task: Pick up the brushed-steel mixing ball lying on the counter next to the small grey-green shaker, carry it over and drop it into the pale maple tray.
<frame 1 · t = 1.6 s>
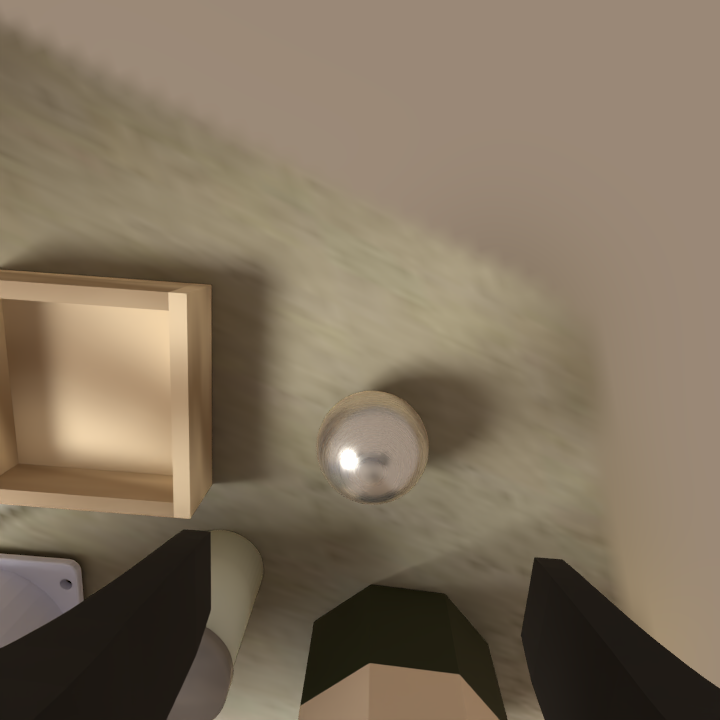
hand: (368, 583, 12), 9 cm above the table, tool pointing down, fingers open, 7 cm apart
tray: (108, 381, 21), on the table
shaker: (222, 566, 23), on the table
ball: (372, 446, 19), point 2 cm above the table
wine bottle: (395, 658, 24), on the table
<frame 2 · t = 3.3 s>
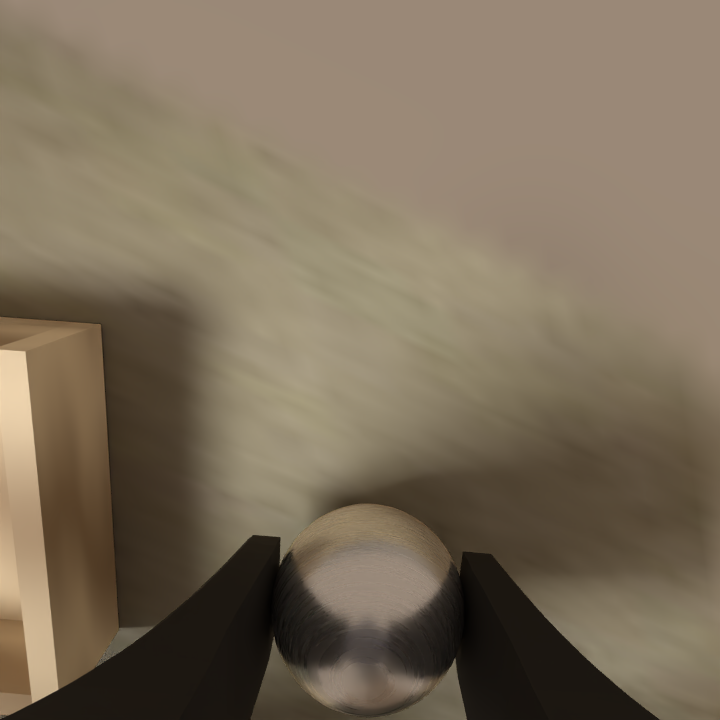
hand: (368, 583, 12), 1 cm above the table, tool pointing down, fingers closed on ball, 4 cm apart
ball: (367, 602, 11), point 2 cm above the table, touching gripper
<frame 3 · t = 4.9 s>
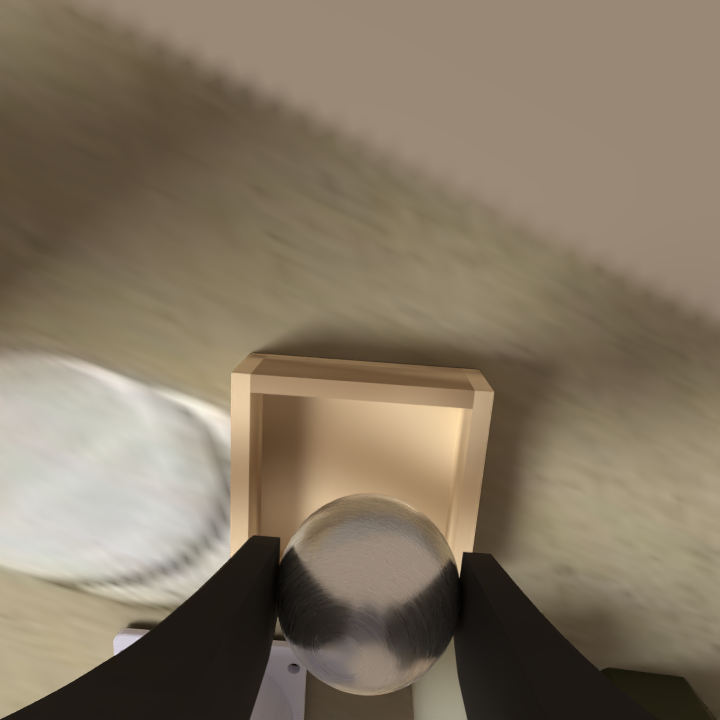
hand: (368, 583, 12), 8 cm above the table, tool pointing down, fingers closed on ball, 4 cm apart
tray: (357, 465, 20), on the table
shaker: (452, 649, 22), on the table
ball: (368, 587, 12), point 8 cm above the table, tilted 13°, touching gripper
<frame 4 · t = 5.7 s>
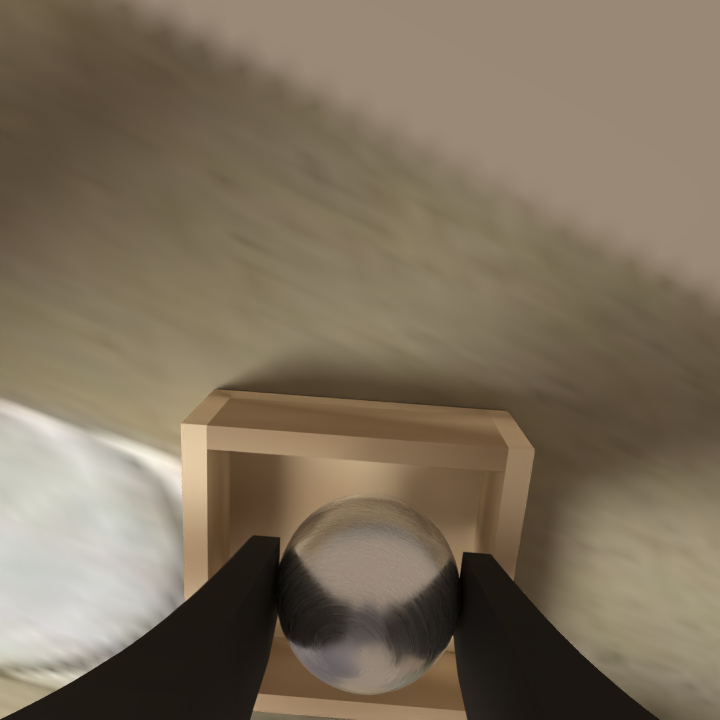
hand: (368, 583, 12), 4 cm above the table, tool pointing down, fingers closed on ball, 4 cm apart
tray: (351, 530, 16), on the table
ball: (368, 586, 12), point 4 cm above the table, tilted 13°, touching gripper
when the fingers open (4 cm above the table, at t = 6.3 s): ball drops 1 cm, resting on tray.
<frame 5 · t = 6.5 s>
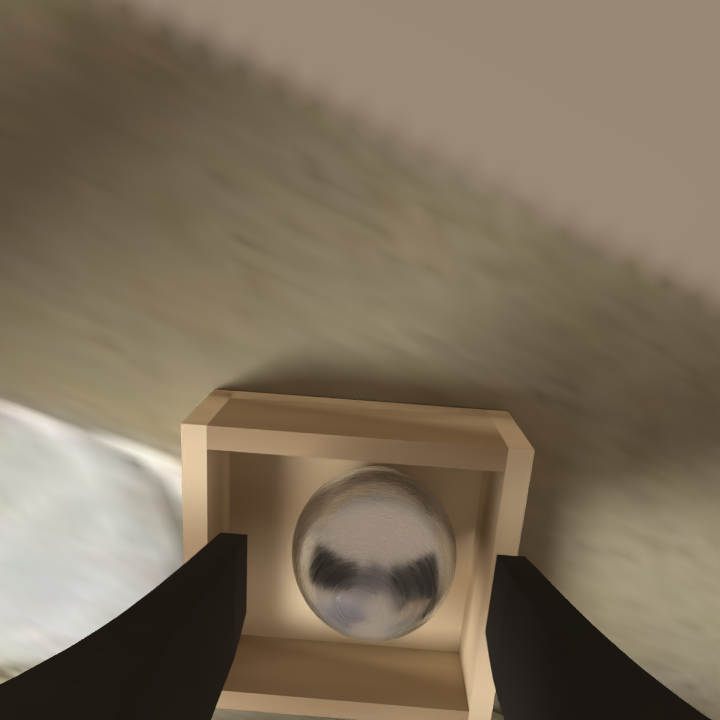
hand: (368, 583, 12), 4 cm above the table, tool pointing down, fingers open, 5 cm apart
tray: (351, 530, 16), on the table
ball: (374, 549, 13), point 3 cm above the table, tilted 8°, touching tray
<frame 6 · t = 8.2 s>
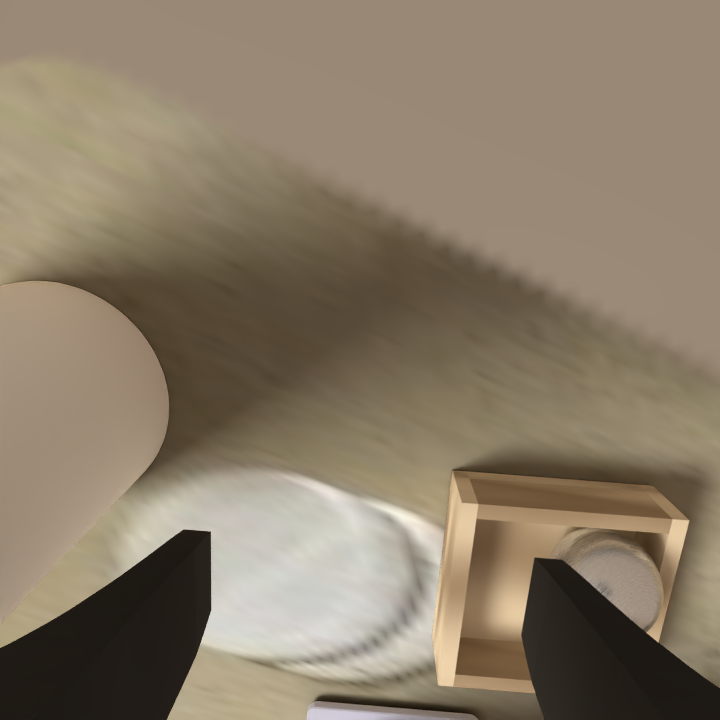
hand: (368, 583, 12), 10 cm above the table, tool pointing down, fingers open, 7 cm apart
cylinder container: (57, 395, 22), on the table
tray: (537, 564, 23), on the table
ball: (602, 582, 20), point 3 cm above the table, tilted 17°, touching tray
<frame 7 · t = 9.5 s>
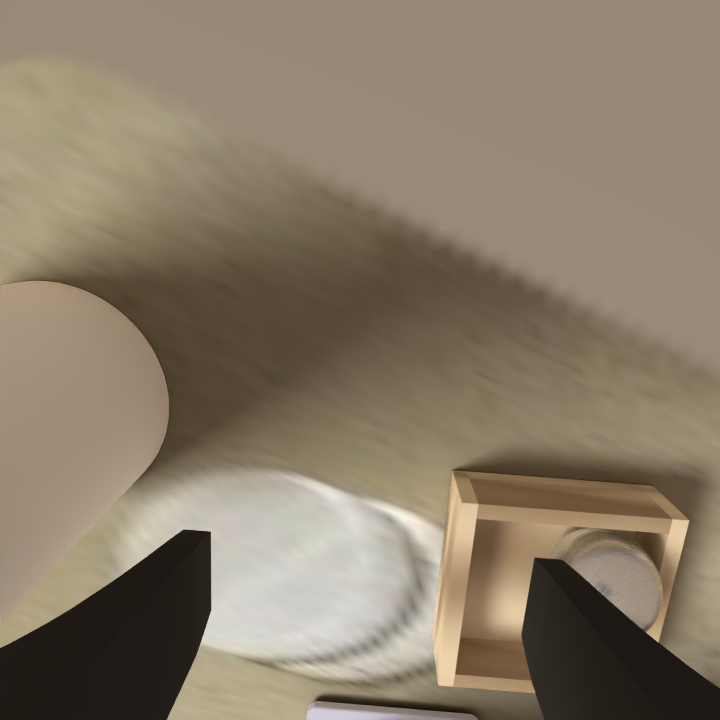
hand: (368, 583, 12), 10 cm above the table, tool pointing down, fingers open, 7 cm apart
cylinder container: (57, 395, 22), on the table
tray: (537, 564, 23), on the table
ball: (601, 582, 20), point 3 cm above the table, tilted 17°, touching tray
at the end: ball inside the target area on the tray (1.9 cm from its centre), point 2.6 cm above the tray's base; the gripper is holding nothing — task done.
